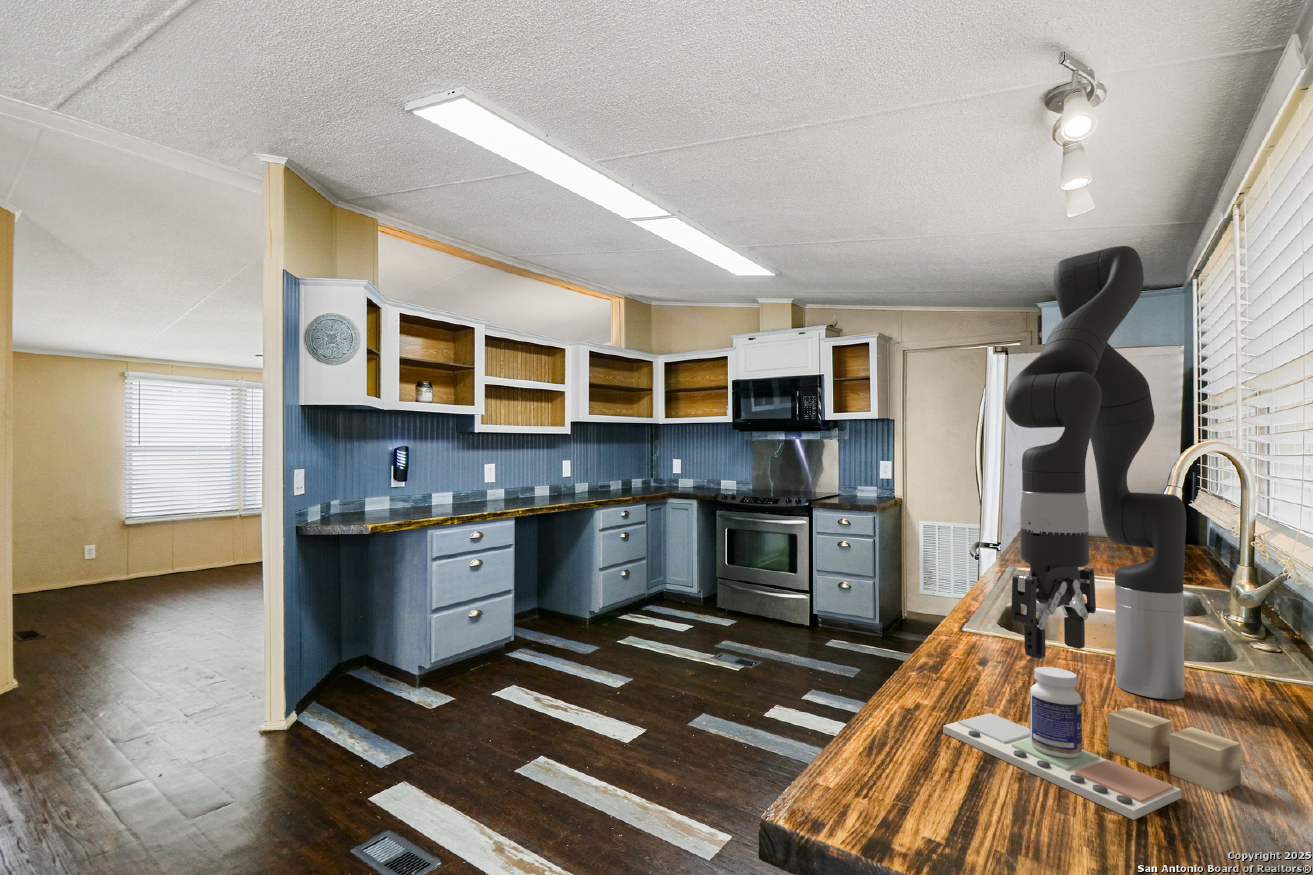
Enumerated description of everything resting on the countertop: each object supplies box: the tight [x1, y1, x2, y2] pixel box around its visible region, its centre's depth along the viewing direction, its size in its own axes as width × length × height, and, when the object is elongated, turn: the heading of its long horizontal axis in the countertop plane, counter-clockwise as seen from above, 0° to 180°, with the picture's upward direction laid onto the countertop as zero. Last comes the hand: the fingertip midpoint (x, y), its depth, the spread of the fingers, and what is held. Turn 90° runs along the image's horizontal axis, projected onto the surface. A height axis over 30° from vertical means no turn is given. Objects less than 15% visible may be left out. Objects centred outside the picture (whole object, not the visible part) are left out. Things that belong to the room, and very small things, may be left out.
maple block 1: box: [1107, 706, 1173, 768], centre depth 84 cm, size 5×5×5 cm
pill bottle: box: [1029, 666, 1083, 758], centre depth 83 cm, size 6×6×10 cm
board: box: [942, 712, 1182, 821], centre depth 82 cm, size 10×24×1 cm, turn 27°
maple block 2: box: [1169, 726, 1242, 794], centre depth 78 cm, size 5×5×5 cm
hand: (1055, 651), depth 83 cm, fingers open, 8 cm apart
